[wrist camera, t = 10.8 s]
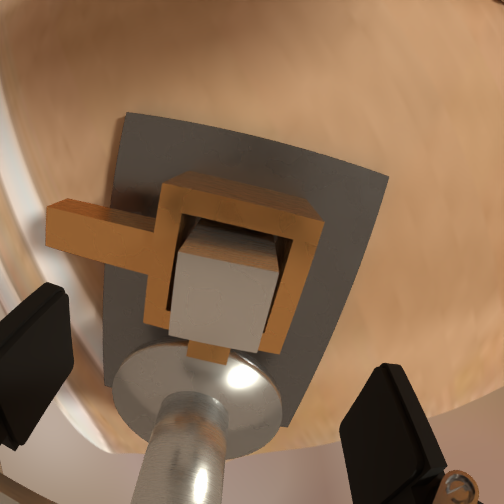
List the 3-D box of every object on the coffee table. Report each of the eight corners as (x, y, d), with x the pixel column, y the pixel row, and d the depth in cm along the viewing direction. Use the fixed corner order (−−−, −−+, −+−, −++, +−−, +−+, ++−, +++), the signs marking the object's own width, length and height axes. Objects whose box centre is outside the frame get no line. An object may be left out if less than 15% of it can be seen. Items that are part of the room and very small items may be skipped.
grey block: (210, 205, 21) (178, 251, 12) (270, 217, 21) (279, 272, 13) (200, 261, 22) (168, 335, 14) (257, 273, 22) (256, 353, 14)
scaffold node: (108, 110, 20) (-63, 100, 5) (384, 174, 21) (543, 239, 7) (91, 372, 27) (25, 489, 13) (286, 420, 29) (297, 556, 15)
